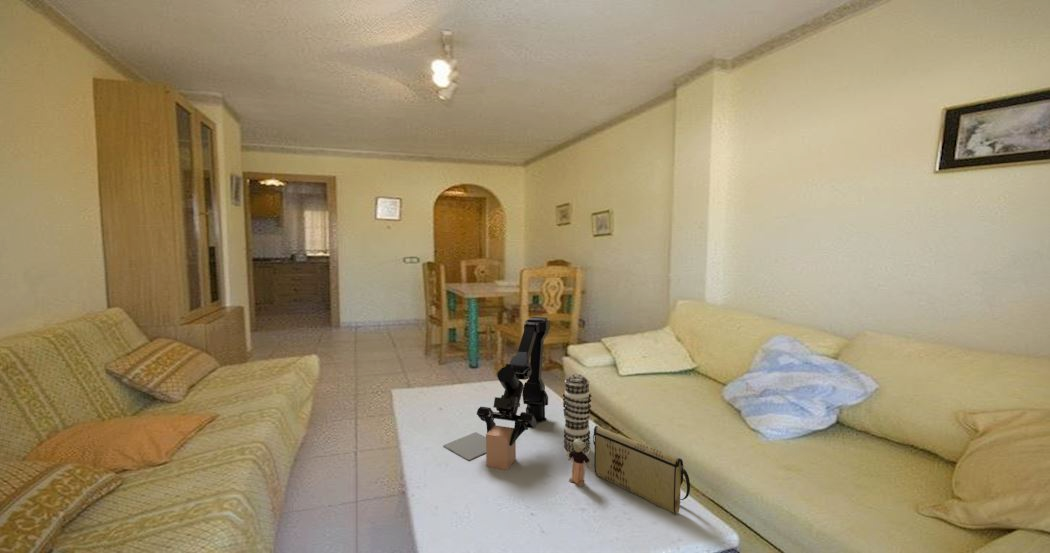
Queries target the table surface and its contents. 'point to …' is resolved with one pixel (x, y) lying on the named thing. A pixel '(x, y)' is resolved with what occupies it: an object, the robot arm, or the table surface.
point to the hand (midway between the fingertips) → (499, 443)
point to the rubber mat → (468, 446)
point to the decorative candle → (576, 412)
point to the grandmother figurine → (578, 462)
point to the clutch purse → (640, 469)
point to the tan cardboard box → (500, 447)
